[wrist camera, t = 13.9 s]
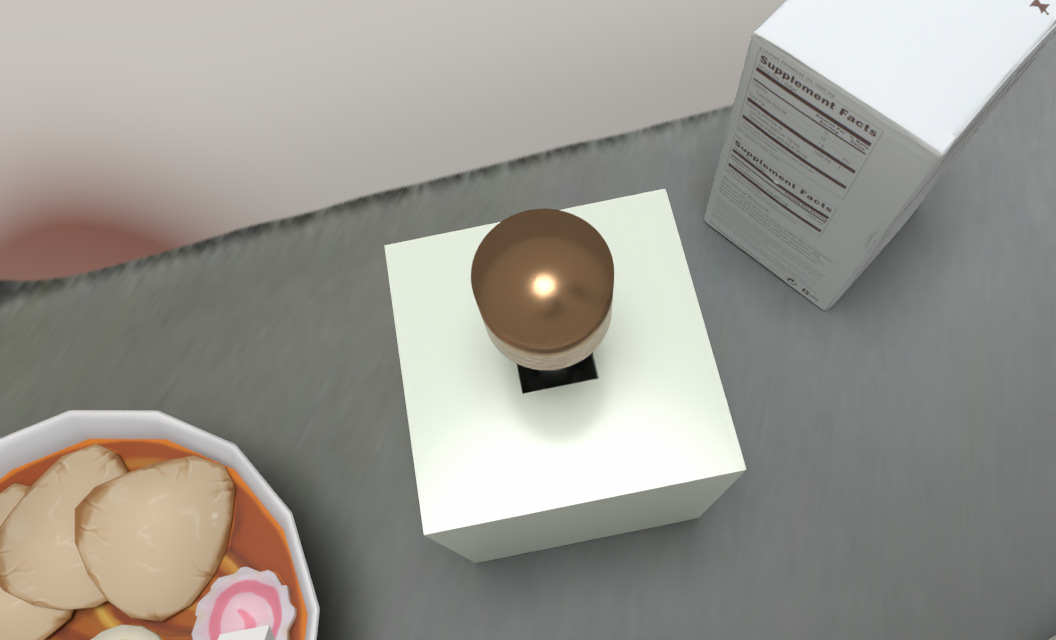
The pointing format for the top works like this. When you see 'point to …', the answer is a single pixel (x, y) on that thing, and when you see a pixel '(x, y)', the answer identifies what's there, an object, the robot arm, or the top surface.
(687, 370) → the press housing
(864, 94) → the supplement box
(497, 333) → the plunger
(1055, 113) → the top surface
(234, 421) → the top surface
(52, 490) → the ramen bowl
